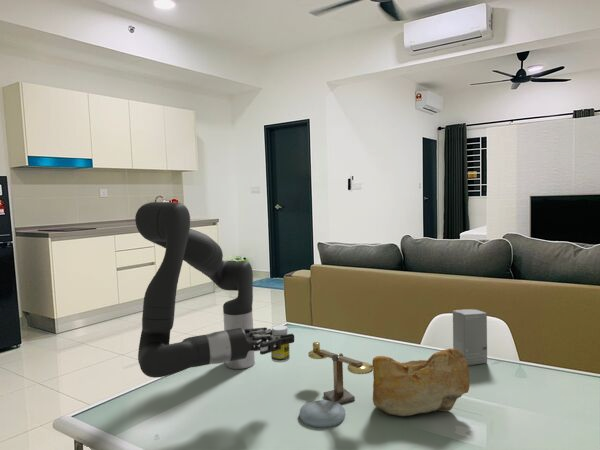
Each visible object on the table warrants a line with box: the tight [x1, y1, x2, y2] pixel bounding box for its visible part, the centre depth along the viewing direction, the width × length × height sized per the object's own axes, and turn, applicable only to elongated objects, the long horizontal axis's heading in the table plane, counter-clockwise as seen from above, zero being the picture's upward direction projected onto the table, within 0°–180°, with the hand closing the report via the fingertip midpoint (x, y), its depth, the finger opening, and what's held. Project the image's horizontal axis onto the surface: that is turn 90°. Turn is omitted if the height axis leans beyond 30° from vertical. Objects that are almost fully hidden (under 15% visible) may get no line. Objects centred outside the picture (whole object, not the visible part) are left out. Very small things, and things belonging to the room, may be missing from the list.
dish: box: [299, 399, 346, 429], centre depth 107 cm, size 11×11×1 cm
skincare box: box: [452, 308, 488, 366], centre depth 137 cm, size 8×7×16 cm
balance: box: [307, 341, 373, 405], centre depth 115 cm, size 28×6×13 cm, turn 24°
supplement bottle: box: [270, 324, 291, 363], centre depth 113 cm, size 5×5×8 cm
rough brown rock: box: [371, 348, 471, 417], centre depth 111 cm, size 23×17×15 cm
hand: (289, 334), depth 114 cm, fingers closed on supplement bottle, 4 cm apart
